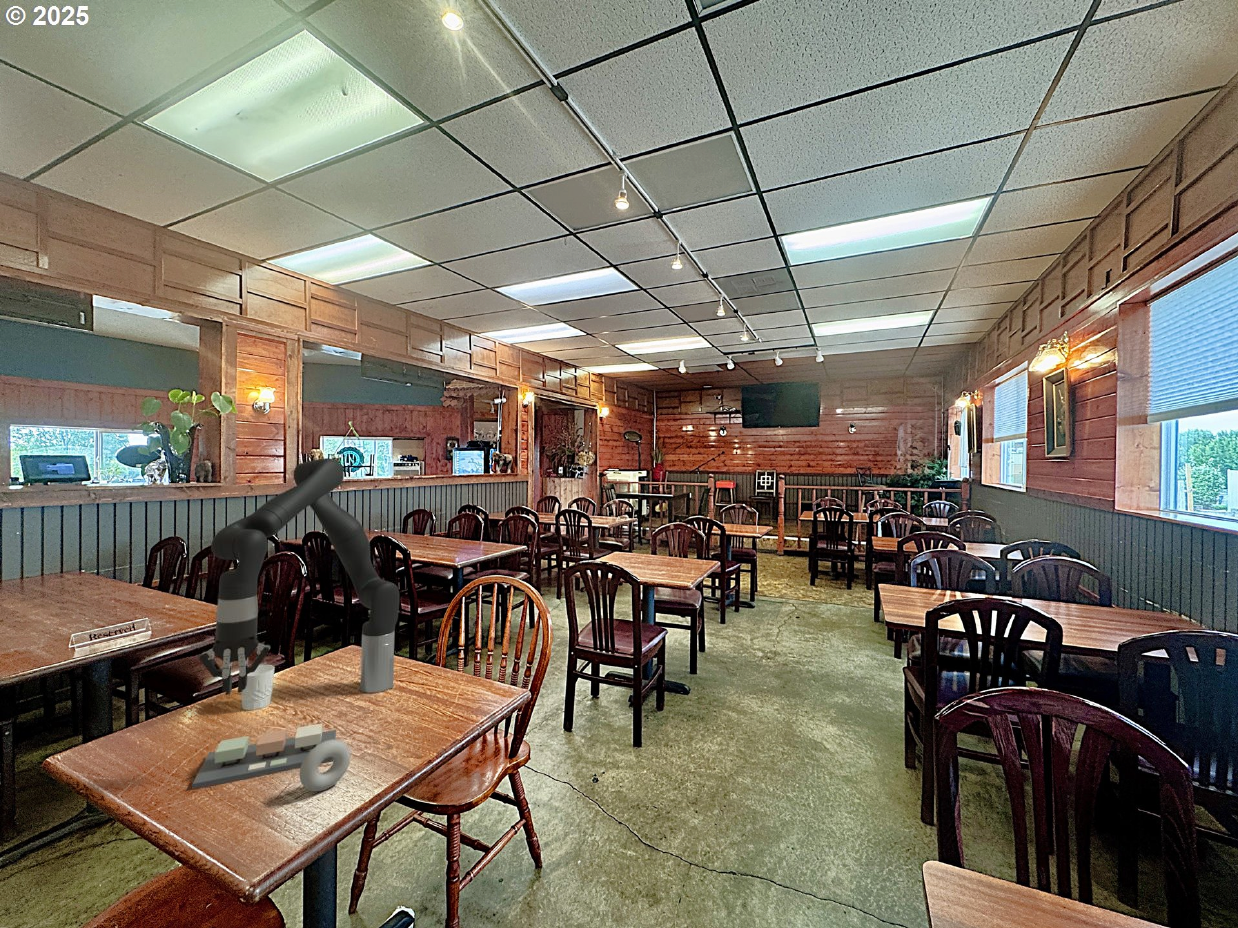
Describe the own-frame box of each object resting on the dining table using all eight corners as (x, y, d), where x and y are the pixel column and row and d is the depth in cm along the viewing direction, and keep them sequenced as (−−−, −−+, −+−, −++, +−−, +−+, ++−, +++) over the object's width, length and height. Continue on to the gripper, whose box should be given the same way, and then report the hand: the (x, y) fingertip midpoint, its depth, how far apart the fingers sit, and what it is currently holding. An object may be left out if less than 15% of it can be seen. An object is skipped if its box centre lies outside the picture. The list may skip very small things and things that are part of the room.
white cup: (260, 712, 140) (261, 676, 141) (232, 710, 141) (233, 674, 141) (279, 699, 148) (280, 665, 148) (253, 698, 148) (254, 664, 149)
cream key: (321, 738, 125) (322, 723, 126) (320, 749, 121) (320, 733, 121) (297, 743, 123) (297, 727, 123) (294, 754, 118) (295, 737, 119)
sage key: (248, 752, 119) (248, 735, 119) (243, 763, 114) (244, 747, 114) (220, 757, 116) (221, 740, 116) (214, 769, 112) (215, 752, 112)
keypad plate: (335, 734, 130) (336, 728, 130) (333, 760, 119) (333, 754, 119) (209, 757, 119) (209, 750, 119) (192, 789, 107) (192, 782, 107)
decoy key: (286, 745, 122) (286, 729, 122) (282, 756, 117) (283, 740, 118) (260, 749, 120) (260, 733, 120) (255, 761, 115) (256, 744, 115)
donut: (345, 774, 114) (347, 729, 114) (352, 780, 112) (354, 735, 112) (295, 795, 106) (297, 747, 106) (302, 803, 104) (303, 754, 104)
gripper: (275, 608, 122) (273, 680, 122) (204, 614, 116) (201, 690, 116) (270, 617, 115) (267, 693, 115) (194, 624, 109) (191, 704, 109)
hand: (234, 691), depth 115 cm, fingers closed
